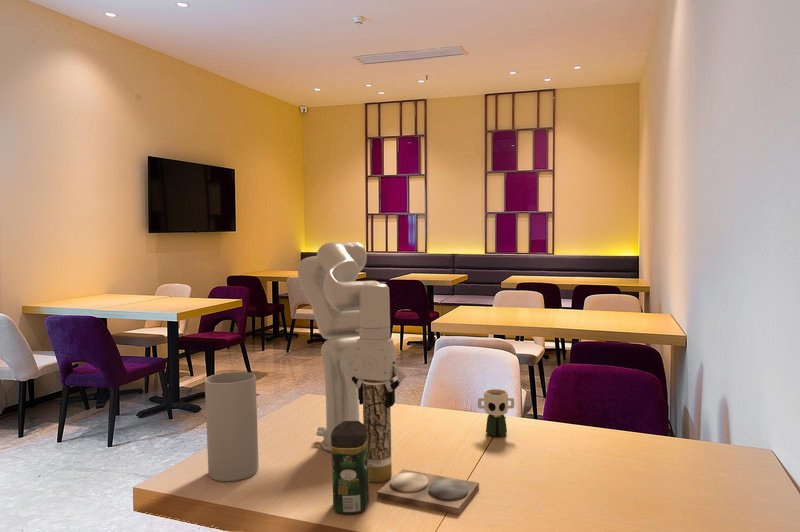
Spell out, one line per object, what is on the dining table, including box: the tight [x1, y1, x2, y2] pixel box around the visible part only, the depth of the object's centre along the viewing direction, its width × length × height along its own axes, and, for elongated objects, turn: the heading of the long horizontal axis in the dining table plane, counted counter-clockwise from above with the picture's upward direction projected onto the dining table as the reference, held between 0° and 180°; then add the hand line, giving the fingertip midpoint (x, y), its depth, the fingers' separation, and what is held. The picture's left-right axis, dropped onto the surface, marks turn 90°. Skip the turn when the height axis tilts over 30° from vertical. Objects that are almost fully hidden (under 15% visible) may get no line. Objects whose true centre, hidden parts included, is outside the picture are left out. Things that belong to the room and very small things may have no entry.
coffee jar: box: [330, 420, 370, 515], centre depth 129 cm, size 10×8×19 cm
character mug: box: [477, 388, 515, 437], centre depth 174 cm, size 11×7×13 cm, turn 86°
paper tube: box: [362, 380, 393, 484], centre depth 144 cm, size 7×7×25 cm
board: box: [376, 468, 480, 516], centre depth 135 cm, size 20×14×2 cm
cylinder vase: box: [204, 371, 260, 482], centre depth 149 cm, size 12×12×25 cm
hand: (376, 404), depth 144 cm, fingers closed on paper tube, 6 cm apart
